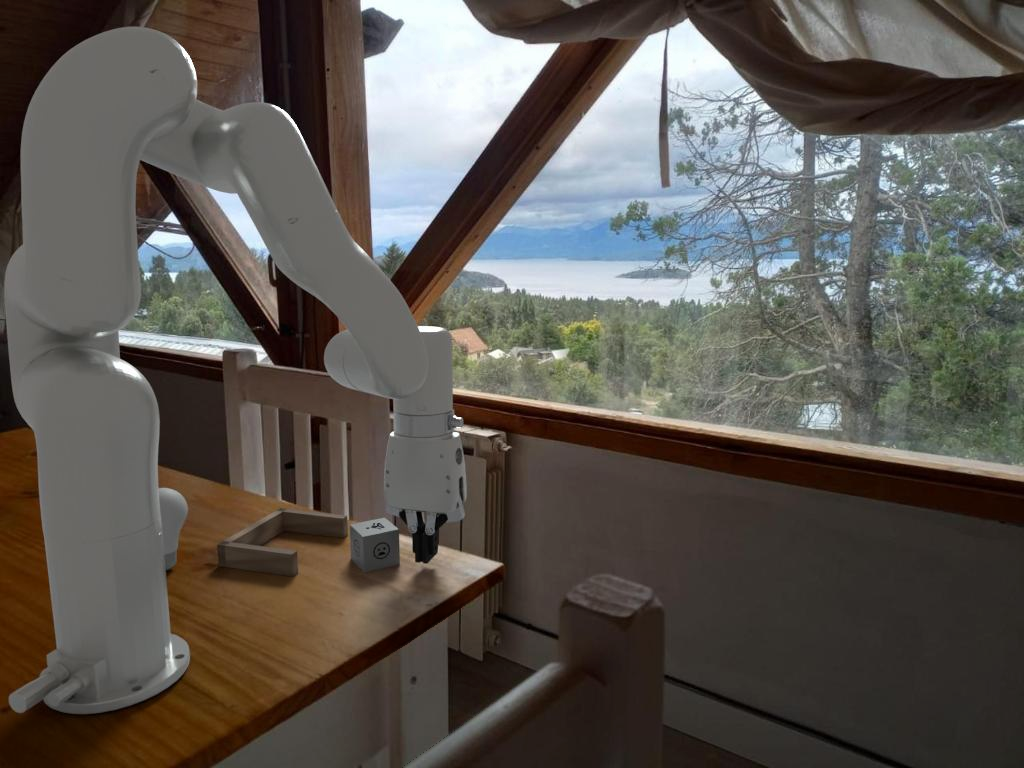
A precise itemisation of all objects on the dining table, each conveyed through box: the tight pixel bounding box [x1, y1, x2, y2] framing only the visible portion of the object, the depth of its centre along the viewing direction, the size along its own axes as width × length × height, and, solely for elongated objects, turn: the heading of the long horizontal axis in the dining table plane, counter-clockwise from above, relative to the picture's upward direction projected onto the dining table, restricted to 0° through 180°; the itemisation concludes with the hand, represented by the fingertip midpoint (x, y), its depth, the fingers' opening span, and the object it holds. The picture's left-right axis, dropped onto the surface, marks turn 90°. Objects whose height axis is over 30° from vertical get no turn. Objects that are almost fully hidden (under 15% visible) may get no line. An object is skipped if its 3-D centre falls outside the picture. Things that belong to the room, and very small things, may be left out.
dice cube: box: [349, 517, 401, 573], centre depth 94 cm, size 5×5×5 cm
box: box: [216, 507, 349, 577], centre depth 98 cm, size 14×11×3 cm
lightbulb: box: [158, 487, 189, 571], centre depth 91 cm, size 6×6×11 cm
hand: (425, 558), depth 92 cm, fingers closed
